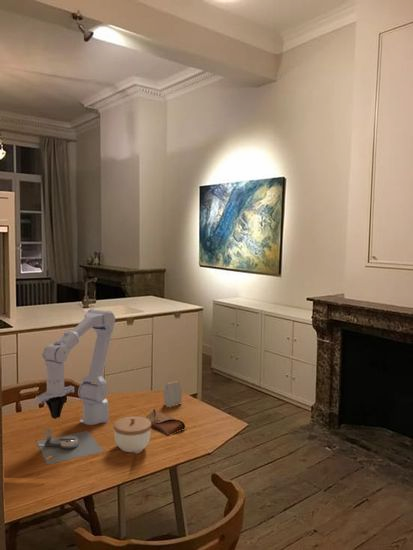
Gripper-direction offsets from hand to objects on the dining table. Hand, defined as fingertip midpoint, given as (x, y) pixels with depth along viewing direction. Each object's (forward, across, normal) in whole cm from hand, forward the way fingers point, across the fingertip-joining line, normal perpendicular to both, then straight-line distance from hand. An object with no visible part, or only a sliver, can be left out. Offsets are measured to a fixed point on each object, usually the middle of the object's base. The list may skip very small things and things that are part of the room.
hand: (55, 417), depth 156 cm
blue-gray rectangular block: (+10, +53, -10) cm, 55 cm away
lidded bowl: (+10, +13, -24) cm, 29 cm away
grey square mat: (+9, 0, -7) cm, 12 cm away
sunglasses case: (+10, +34, -20) cm, 40 cm away
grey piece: (+8, -1, -5) cm, 10 cm away
